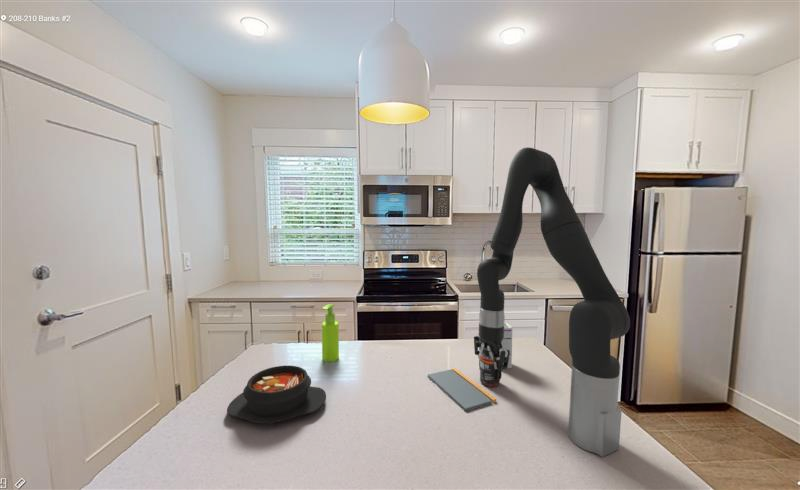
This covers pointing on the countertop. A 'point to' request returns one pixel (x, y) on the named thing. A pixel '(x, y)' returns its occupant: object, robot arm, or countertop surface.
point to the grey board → (461, 389)
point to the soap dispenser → (330, 336)
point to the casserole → (277, 396)
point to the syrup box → (508, 342)
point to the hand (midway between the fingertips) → (489, 374)
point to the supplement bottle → (487, 369)
